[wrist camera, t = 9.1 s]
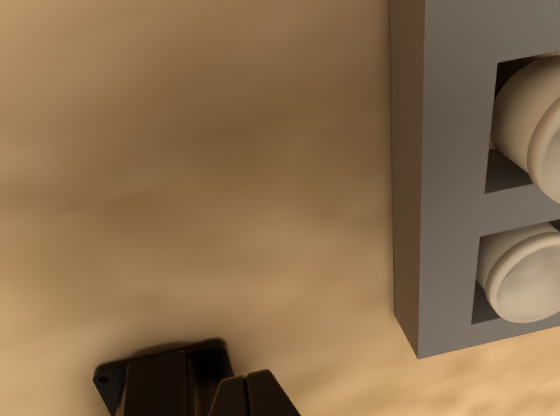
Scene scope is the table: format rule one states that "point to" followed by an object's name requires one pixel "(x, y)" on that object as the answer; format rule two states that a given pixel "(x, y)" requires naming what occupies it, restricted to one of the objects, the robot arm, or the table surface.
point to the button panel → (457, 162)
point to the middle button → (531, 122)
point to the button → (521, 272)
